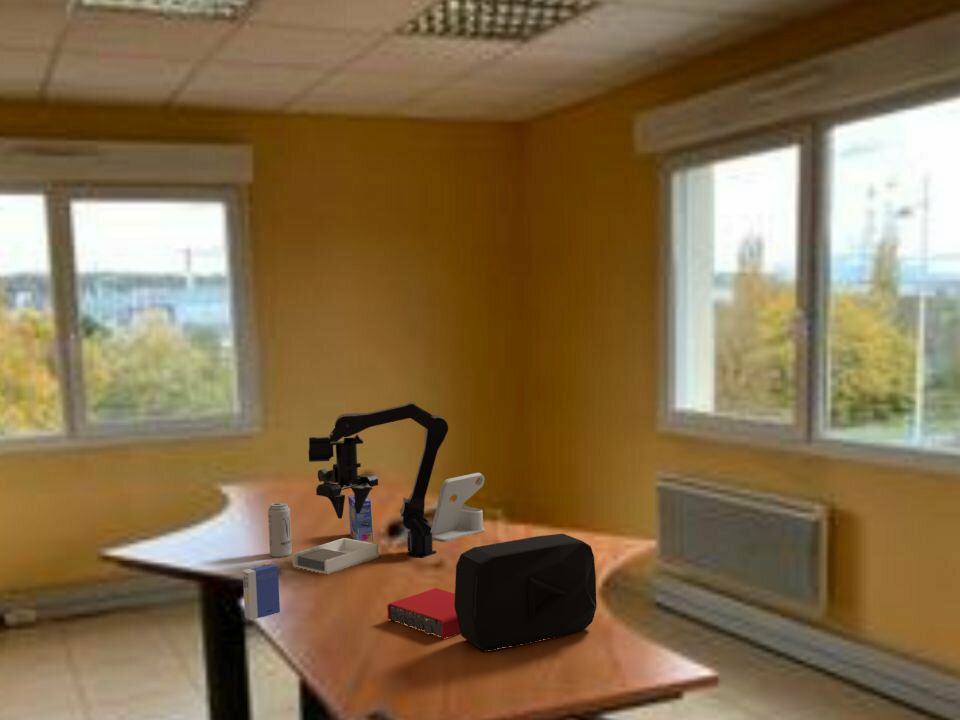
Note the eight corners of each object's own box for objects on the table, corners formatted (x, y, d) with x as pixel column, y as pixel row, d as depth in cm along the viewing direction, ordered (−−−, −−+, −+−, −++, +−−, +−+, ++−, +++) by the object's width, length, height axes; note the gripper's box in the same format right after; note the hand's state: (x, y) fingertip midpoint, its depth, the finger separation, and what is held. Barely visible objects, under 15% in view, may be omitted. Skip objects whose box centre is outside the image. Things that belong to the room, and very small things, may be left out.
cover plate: (348, 562, 265) (348, 553, 265) (324, 571, 258) (323, 561, 258) (322, 557, 272) (322, 548, 271) (298, 565, 264) (297, 556, 264)
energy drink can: (286, 559, 274) (284, 506, 273) (266, 559, 275) (264, 506, 274) (295, 553, 280) (292, 501, 278) (275, 553, 281) (273, 501, 280)
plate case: (378, 558, 272) (378, 544, 272) (327, 576, 257) (326, 561, 257) (344, 551, 280) (344, 537, 280) (292, 568, 265) (292, 553, 265)
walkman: (273, 612, 230) (271, 561, 229) (280, 615, 228) (277, 564, 227) (243, 620, 224) (241, 569, 223) (250, 623, 222) (247, 571, 221)
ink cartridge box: (348, 534, 299) (347, 487, 298) (366, 533, 301) (365, 486, 300) (355, 542, 290) (353, 494, 289) (374, 540, 292) (372, 492, 291)
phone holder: (464, 525, 307) (463, 468, 306) (487, 530, 300) (485, 472, 299) (422, 536, 295) (420, 477, 294) (445, 542, 288) (443, 481, 287)
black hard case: (574, 617, 221) (572, 529, 219) (606, 633, 210) (605, 541, 209) (454, 643, 207) (451, 550, 205) (482, 662, 196) (479, 564, 194)
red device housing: (388, 624, 220) (387, 602, 220) (434, 608, 230) (433, 587, 230) (443, 643, 208) (442, 620, 207) (489, 625, 218) (489, 603, 218)
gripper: (350, 452, 283) (352, 505, 285) (301, 463, 269) (303, 519, 270) (378, 455, 276) (380, 510, 278) (329, 466, 262) (332, 524, 263)
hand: (349, 515), depth 272 cm, fingers open, 7 cm apart
